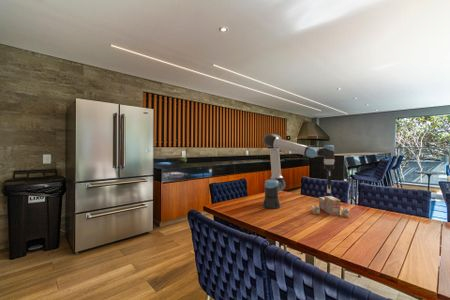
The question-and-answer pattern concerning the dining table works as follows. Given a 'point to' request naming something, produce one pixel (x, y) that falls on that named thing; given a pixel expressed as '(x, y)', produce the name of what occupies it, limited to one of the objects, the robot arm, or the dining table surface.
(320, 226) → the dining table surface
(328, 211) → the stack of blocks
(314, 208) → the marked cube left
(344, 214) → the marked cube right
